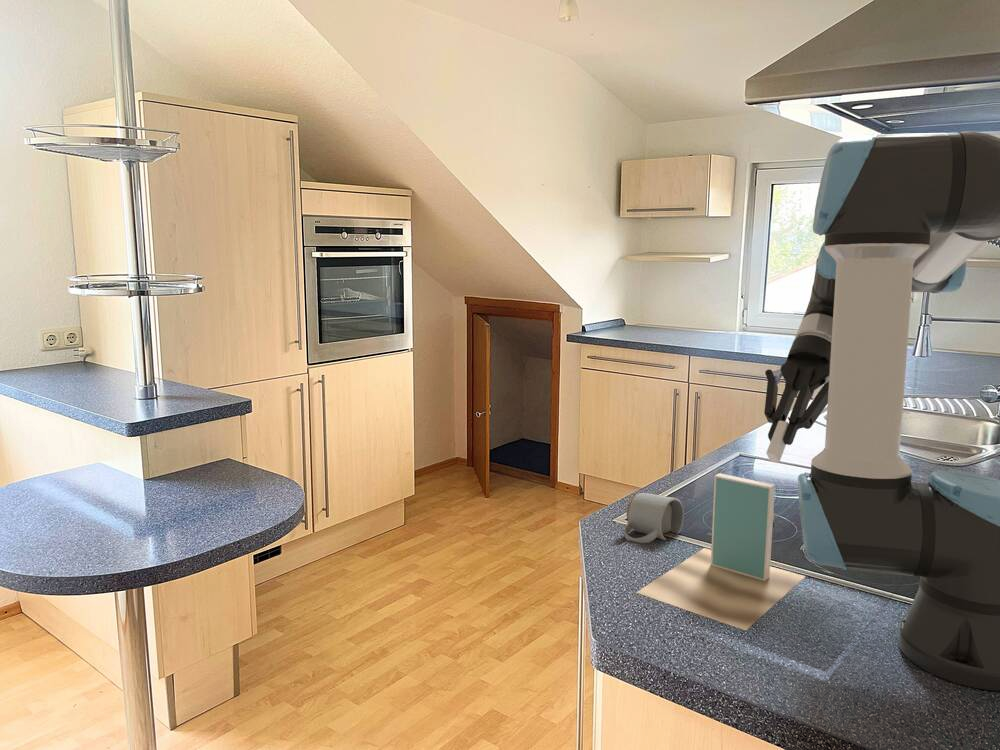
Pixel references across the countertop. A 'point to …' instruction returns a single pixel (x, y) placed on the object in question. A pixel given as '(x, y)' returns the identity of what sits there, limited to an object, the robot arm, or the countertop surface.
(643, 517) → the ceramic mug
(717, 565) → the ceramic tile
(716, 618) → the cork mat
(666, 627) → the countertop surface
